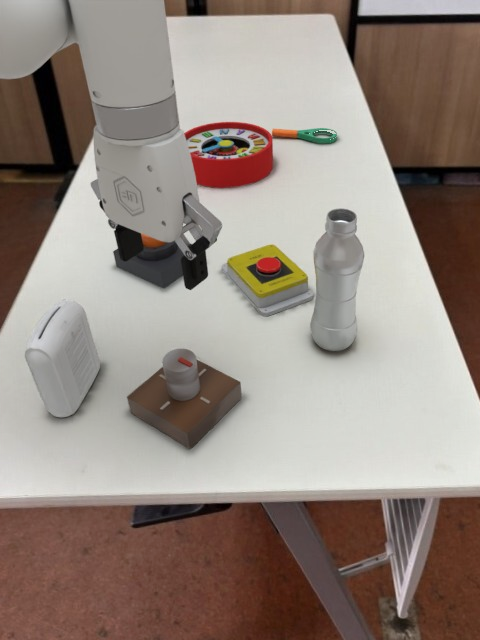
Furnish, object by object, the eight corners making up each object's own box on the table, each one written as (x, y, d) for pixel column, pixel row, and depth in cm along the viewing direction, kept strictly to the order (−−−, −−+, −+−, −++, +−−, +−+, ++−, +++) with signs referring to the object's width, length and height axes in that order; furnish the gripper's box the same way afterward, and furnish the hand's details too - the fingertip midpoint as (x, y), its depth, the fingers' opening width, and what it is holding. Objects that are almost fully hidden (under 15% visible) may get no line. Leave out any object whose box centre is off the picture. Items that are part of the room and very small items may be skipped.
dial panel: (130, 412, 72) (126, 395, 70) (183, 367, 78) (181, 350, 76) (190, 449, 68) (187, 432, 66) (241, 398, 74) (240, 380, 71)
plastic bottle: (323, 362, 78) (332, 235, 65) (301, 333, 83) (304, 209, 69) (364, 349, 80) (380, 223, 67) (340, 321, 85) (351, 197, 71)
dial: (161, 391, 70) (154, 361, 67) (182, 373, 73) (177, 342, 69) (185, 405, 69) (180, 374, 65) (206, 385, 71) (202, 354, 68)
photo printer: (76, 360, 79) (52, 289, 71) (105, 363, 79) (84, 292, 71) (42, 416, 72) (11, 344, 64) (74, 420, 71) (47, 348, 63)
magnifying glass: (337, 133, 136) (337, 126, 134) (336, 144, 131) (336, 137, 130) (274, 131, 137) (274, 124, 136) (270, 141, 133) (270, 134, 132)
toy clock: (292, 142, 118) (210, 169, 110) (291, 169, 122) (212, 197, 114) (237, 114, 131) (160, 137, 122) (239, 139, 135) (164, 163, 126)
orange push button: (137, 243, 93) (135, 232, 92) (154, 232, 95) (152, 221, 94) (154, 250, 91) (152, 239, 90) (172, 239, 94) (170, 228, 92)
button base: (116, 267, 96) (110, 241, 93) (153, 243, 102) (149, 218, 98) (164, 289, 91) (159, 263, 88) (200, 262, 97) (197, 237, 93)
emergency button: (263, 294, 83) (217, 246, 92) (263, 318, 85) (219, 268, 95) (316, 275, 86) (267, 230, 96) (315, 298, 89) (267, 252, 99)
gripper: (43, 109, 54) (85, 260, 65) (180, 149, 46) (201, 313, 58) (102, 86, 58) (132, 231, 70) (236, 119, 51) (245, 277, 62)
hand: (163, 268), depth 64 cm, fingers open, 9 cm apart
